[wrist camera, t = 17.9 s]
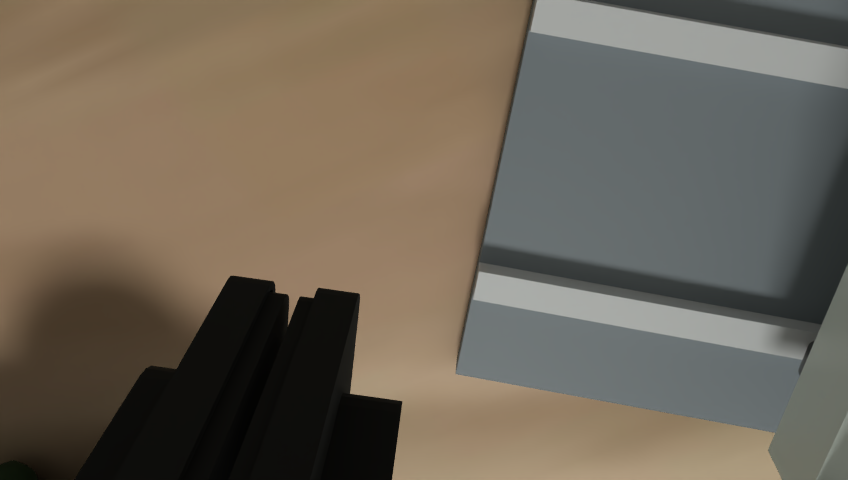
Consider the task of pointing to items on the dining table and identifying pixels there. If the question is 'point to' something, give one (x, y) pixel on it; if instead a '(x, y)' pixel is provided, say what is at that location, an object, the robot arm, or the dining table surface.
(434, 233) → the dining table surface
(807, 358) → the shallow sage tray
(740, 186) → the track
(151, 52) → the dining table surface
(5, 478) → the toy figurine
